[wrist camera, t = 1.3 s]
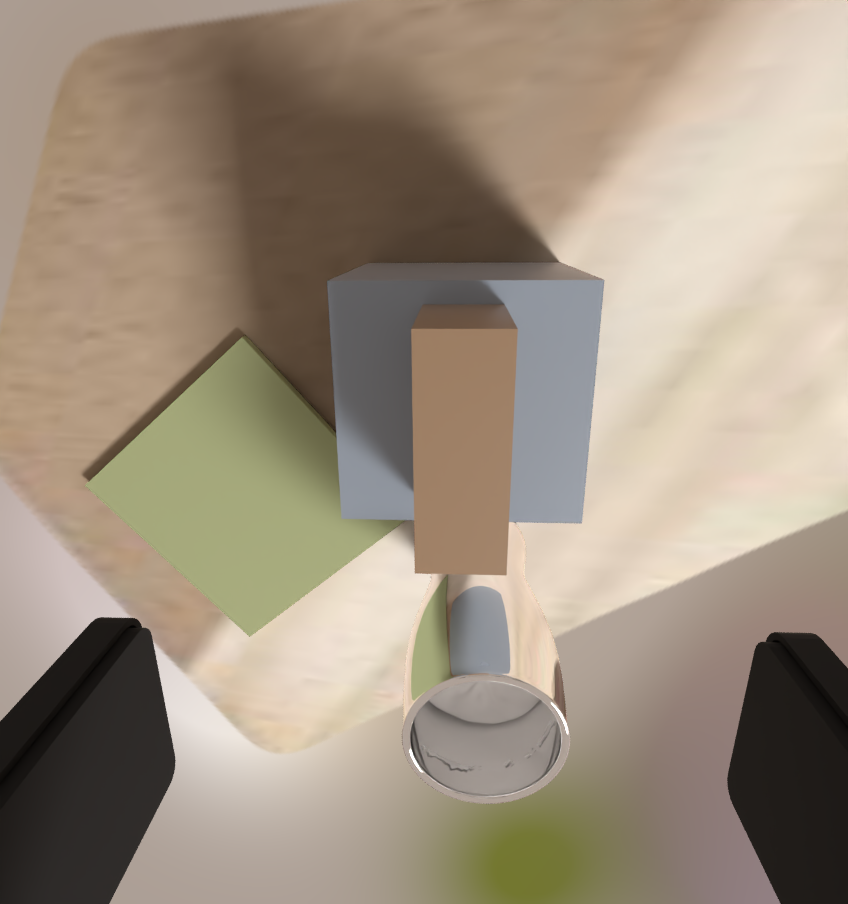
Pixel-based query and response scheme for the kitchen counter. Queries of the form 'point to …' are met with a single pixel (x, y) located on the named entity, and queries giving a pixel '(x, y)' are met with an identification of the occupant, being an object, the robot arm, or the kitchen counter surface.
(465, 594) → the beer glass
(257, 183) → the kitchen counter surface
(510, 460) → the cover
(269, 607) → the mat
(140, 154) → the kitchen counter surface
